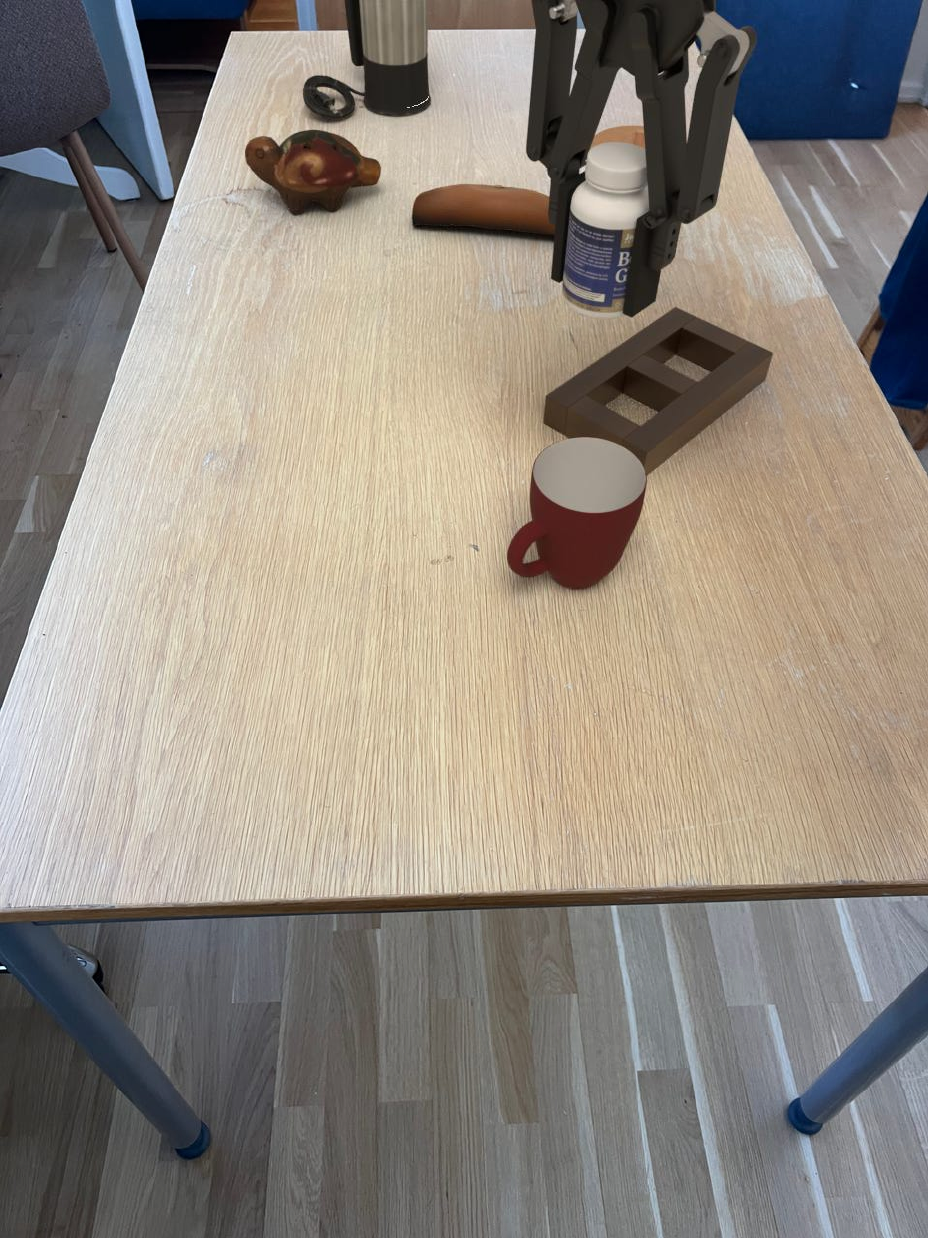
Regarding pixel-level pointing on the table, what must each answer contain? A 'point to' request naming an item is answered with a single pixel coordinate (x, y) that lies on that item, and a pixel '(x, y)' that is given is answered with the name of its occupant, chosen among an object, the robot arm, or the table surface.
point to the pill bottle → (604, 229)
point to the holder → (659, 386)
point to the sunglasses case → (484, 208)
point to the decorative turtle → (311, 168)
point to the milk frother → (381, 60)
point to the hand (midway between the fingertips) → (602, 289)
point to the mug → (580, 511)
